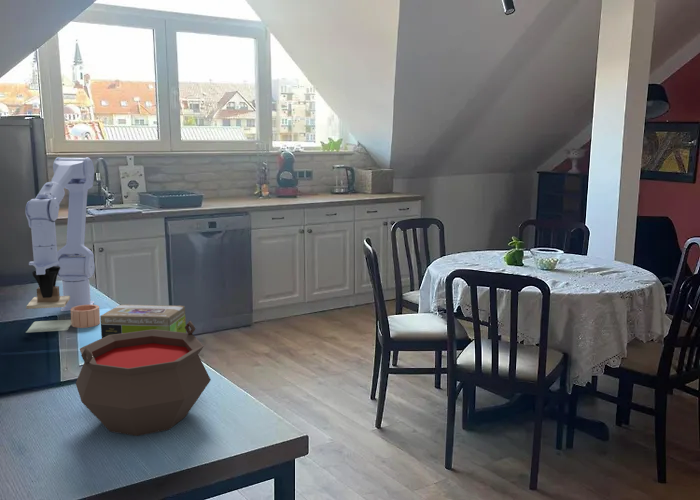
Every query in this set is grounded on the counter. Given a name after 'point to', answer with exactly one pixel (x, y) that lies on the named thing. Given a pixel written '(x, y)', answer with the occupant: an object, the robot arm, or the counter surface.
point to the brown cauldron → (142, 379)
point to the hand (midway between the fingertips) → (48, 295)
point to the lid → (48, 300)
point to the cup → (85, 316)
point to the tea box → (143, 319)
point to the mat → (49, 326)
